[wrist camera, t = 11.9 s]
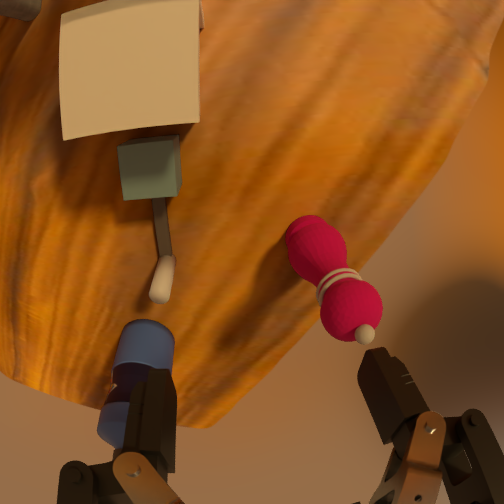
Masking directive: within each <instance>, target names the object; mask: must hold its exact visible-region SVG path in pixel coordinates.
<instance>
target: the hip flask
mask: <svg viewBox="0 0 504 504" xmlns="http://www.w3.org/2000/svg"><path fill="white" fill-rule="evenodd" d="M41 2H42V0H0V15H2V16H7V17H11V18H15V19H19V20H23V21H31V20H33V19H34V18H35V17H36V16H37V15H38V14H39V12H40V9H41Z"/></svg>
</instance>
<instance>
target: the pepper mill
mask: <svg viewBox="0 0 504 504" xmlns="http://www.w3.org/2000/svg"><path fill="white" fill-rule="evenodd" d="M285 241H286V245H287V248H288V258H289V261H290V264H291V266H292V267H293V269H294V270H295V272H296V273H297V274H298V275H300V276H301V277H302V278H303V279H305V280H307V281H309V282H311V283H313V284H314V285H315V286H316V287H317V290H316V297H317V300H318V302H319V305H320V307H321V310H320V316H321V321H322V324H323V326H324V327H325V329H326V331H327V332H328V333H329V334H330V335H331V336H333V337H334V338H336V339H338V340H341V341H345V342H348V341H349V342H350V341H357V342H358V343H360V344H368V343H370V342H371V341H372V340H373V339H374V336H375V332H374V329H375V328H376V327H377V326H378V324H379V322H380V320H381V317H382V310H383V306H382V301H381V298H380V295H379V294H378V292H377V291H376V289H375V288H374V287H373V286H372V285H370V284H369V283H367V282H365V281H363V280H362V278H361V277H360V275H359V274H358V273H357V272H356V271H354V270H352V269H349V267H348V265H347V264H346V259H347V250H346V245H345V242H344V240H343V238H342V236H341V234H340V233H339V232H338V231H337V230H336V229H335V228H334V227H332V226H330V225H328V224H327V223H326V222H325V221H324V220H323V219H322V218H320V217H318V216H314V215H307V216H302V217H300V218H298V219H296V220H295V221H294V222H293V223H292V224H291V225H290V226H289V228H288V230H287V232H286V236H285Z"/></svg>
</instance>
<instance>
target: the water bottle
mask: <svg viewBox="0 0 504 504" xmlns="http://www.w3.org/2000/svg"><path fill="white" fill-rule="evenodd" d="M174 344H175V341H174V337H173V335H172V333H171V331H170V330H169V329H168V328H166V327H165V326H164V325H162V324H160V323H158V322H156V321H153V320H148V319H137V320H133V321H131V322H129V323H128V324H127V325H125V327H124V328H123V331H122V335H121V338H120V342H119V345H118V349H117V352H116V356H115V360H114V364H113V367H112V371H111V387H110V390H109V393H108V395H107V398H106V401H105V403H104V406H103V407H102V408H101V413H100V417H99V422H98V427H97V433H98V435H99V436H100V437H101V438H102V439H103V440H104V441H106V442H107V443H109V444H110V445H112V446H113V447H114V448H115V450H114V453H113V460H114V459H115V458H117V457H118V456H119V454H120V453H121V451H122V448H123V442H124V435H125V428H126V421H127V415H128V408H129V405H130V404H129V402H130V396H131V391H132V390H133V388H134V387H135V385H136V384H137V382H138V381H140V382H147V380H148V373H149V370H150V369H151V368H157V369H165V368H168V369H169V370H170V373H171V374H172V364H173V354H174Z"/></svg>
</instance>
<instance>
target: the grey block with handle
mask: <svg viewBox="0 0 504 504" xmlns="http://www.w3.org/2000/svg"><path fill="white" fill-rule="evenodd" d="M117 152H118V161H119V170H120V178H121V185H122V192H123V199H124V201H125V200H135V199H147V198H152V206H153V213H154V221H155V228H156V235H157V241H158V248H159V254H160V257H159V260H158V263H157V267H156V270H155V274H154V277H153V281H152V284H151V288H150V292H149V297H150V299H151V300H152V301H153V302H155V303H157V304H164V303H166V302H167V301H168V300H169V297H170V292H171V286H172V281H173V276H174V270H175V265H176V257H175V256H174V255H173V254H172V247H171V239H170V232H169V224H168V215H167V206H166V197H172V196H177V195H178V193H179V190H180V187H181V185H182V176H181V162H180V145H179V134H178V135H167V136H156V137H147V138H139V139H131V140H128V141H126V142H124V143H122V144H120V145H119V146H117Z"/></svg>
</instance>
